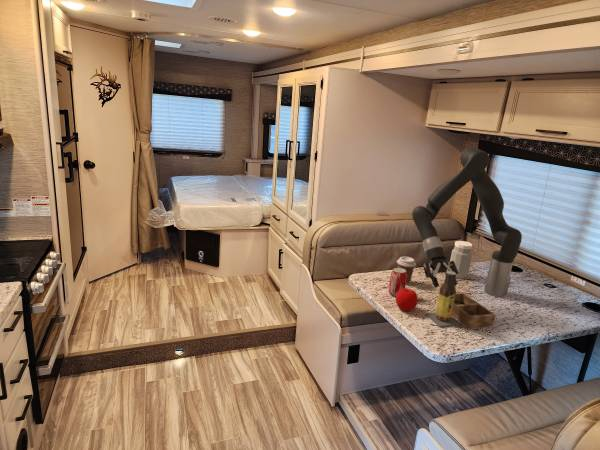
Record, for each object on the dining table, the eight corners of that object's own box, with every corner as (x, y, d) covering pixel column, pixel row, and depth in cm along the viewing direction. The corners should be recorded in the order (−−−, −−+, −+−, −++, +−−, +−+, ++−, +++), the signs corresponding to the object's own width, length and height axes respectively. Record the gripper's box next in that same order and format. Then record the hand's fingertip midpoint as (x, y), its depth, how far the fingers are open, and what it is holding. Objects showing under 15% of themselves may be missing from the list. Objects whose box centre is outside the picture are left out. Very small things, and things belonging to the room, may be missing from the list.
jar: (444, 271, 211) (450, 239, 206) (461, 271, 212) (468, 240, 207) (453, 279, 201) (459, 246, 196) (470, 279, 203) (478, 246, 198)
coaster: (445, 312, 166) (446, 311, 166) (461, 325, 157) (461, 323, 157) (425, 314, 164) (425, 313, 163) (439, 327, 154) (440, 325, 154)
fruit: (398, 301, 173) (401, 280, 170) (418, 307, 169) (422, 286, 166) (391, 309, 166) (394, 287, 163) (412, 316, 161) (416, 294, 158)
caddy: (460, 302, 177) (462, 292, 175) (493, 326, 158) (495, 315, 157) (437, 304, 173) (439, 294, 172) (468, 328, 155) (470, 317, 153)
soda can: (404, 298, 176) (408, 274, 173) (388, 296, 177) (391, 271, 174) (403, 292, 183) (407, 268, 179) (388, 289, 184) (391, 265, 180)
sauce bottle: (448, 323, 156) (457, 277, 151) (432, 318, 159) (441, 273, 154) (452, 317, 162) (461, 272, 156) (436, 312, 165) (445, 268, 159)
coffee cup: (403, 276, 200) (406, 254, 197) (416, 283, 193) (420, 261, 189) (390, 279, 196) (393, 256, 192) (403, 286, 188) (407, 263, 185)
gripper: (424, 246, 161) (436, 284, 154) (453, 245, 165) (466, 281, 158) (414, 253, 167) (426, 290, 160) (443, 252, 171) (455, 288, 164)
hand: (446, 286), depth 159 cm, fingers open, 8 cm apart
